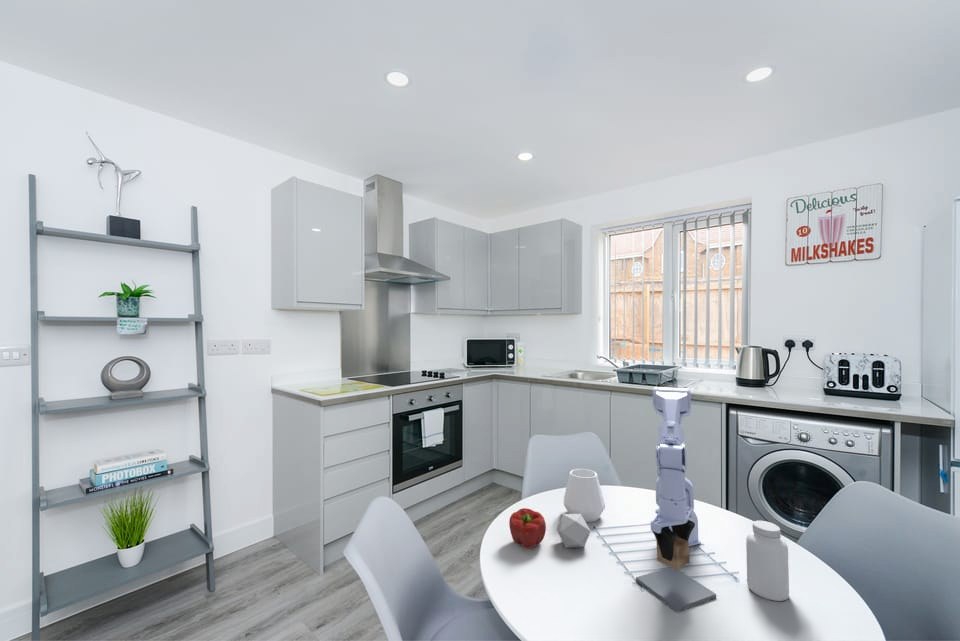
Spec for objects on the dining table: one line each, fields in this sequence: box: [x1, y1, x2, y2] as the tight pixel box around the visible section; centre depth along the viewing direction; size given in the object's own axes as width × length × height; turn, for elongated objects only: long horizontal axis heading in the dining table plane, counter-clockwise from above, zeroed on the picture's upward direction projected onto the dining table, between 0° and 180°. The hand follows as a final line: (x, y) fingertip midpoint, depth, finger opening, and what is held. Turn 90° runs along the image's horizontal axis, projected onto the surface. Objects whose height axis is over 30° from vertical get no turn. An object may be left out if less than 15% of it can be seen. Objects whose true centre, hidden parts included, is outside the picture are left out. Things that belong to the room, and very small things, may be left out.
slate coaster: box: [635, 566, 717, 613], centre depth 95 cm, size 12×12×1 cm
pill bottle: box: [745, 520, 790, 602], centre depth 94 cm, size 8×8×15 cm
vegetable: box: [508, 507, 547, 549], centre depth 115 cm, size 11×10×10 cm
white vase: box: [563, 468, 606, 523], centre depth 134 cm, size 13×13×14 cm
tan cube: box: [655, 537, 690, 570], centre depth 95 cm, size 5×5×5 cm
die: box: [556, 513, 591, 549], centre depth 115 cm, size 8×9×10 cm
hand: (673, 554), depth 95 cm, fingers closed on tan cube, 5 cm apart
